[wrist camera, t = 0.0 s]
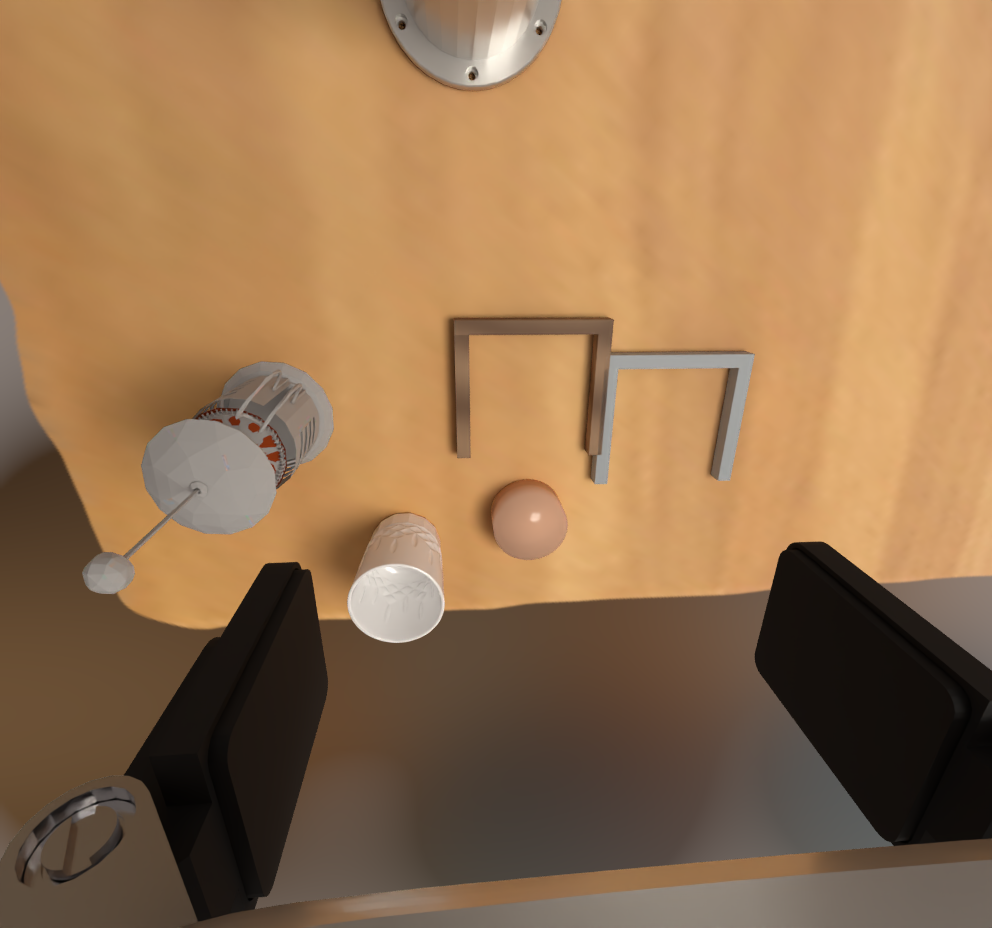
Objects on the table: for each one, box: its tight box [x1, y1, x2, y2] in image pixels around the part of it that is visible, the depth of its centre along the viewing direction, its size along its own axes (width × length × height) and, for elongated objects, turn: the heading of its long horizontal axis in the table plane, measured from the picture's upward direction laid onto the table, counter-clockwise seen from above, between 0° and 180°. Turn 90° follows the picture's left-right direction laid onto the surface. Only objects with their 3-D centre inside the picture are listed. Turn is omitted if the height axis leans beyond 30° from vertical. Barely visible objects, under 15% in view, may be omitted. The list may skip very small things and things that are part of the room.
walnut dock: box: [454, 318, 614, 458], centre depth 45 cm, size 12×13×2 cm
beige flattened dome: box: [491, 479, 568, 560], centre depth 49 cm, size 7×7×4 cm
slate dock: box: [591, 351, 755, 484], centre depth 48 cm, size 12×13×2 cm
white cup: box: [347, 513, 445, 643], centre depth 47 cm, size 8×8×10 cm
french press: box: [82, 362, 334, 594], centre depth 34 cm, size 10×12×25 cm
